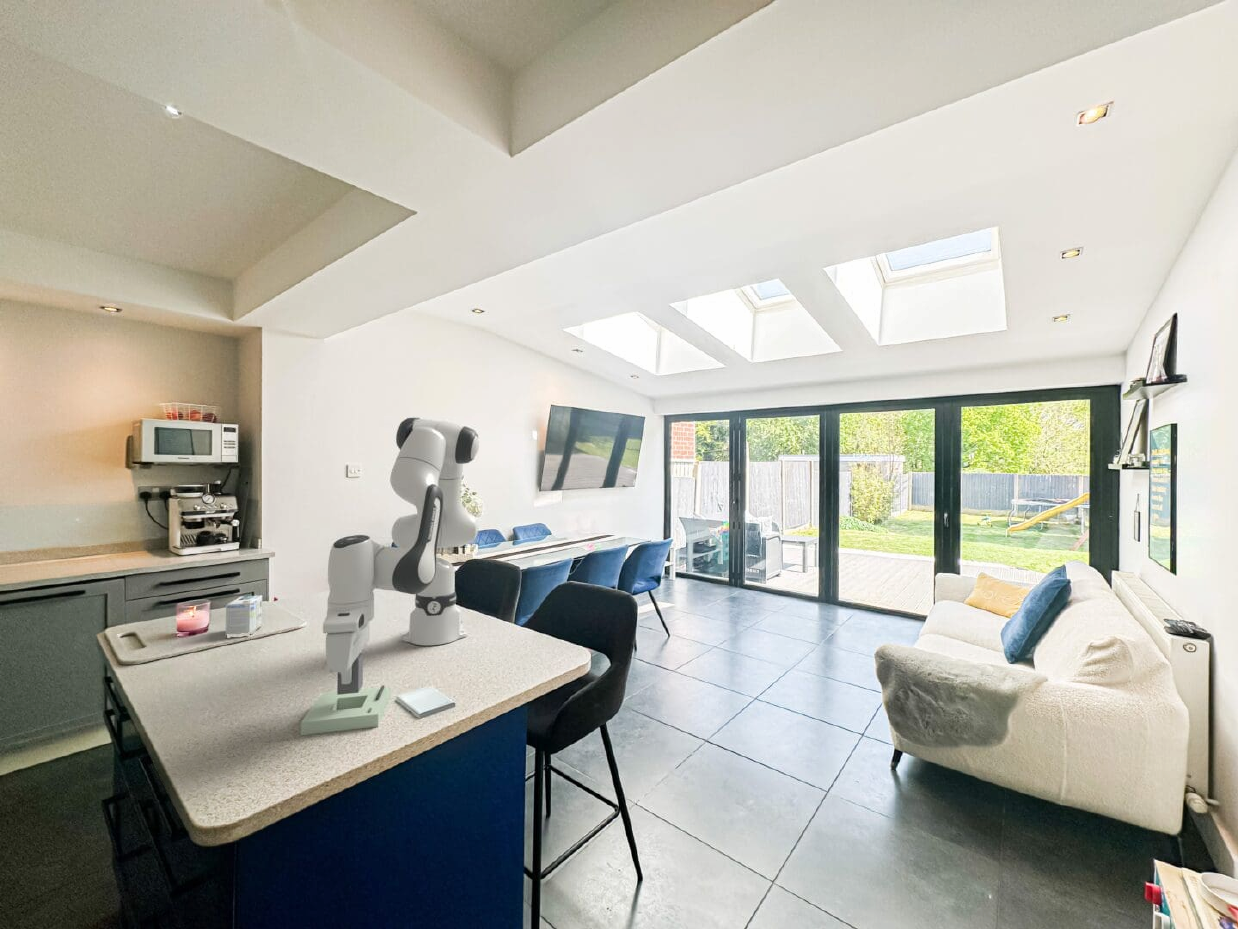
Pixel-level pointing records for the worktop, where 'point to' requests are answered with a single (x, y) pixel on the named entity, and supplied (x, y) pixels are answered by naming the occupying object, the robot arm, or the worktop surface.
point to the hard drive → (425, 701)
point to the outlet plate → (346, 711)
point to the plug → (357, 678)
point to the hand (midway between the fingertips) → (350, 677)
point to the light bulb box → (243, 614)
